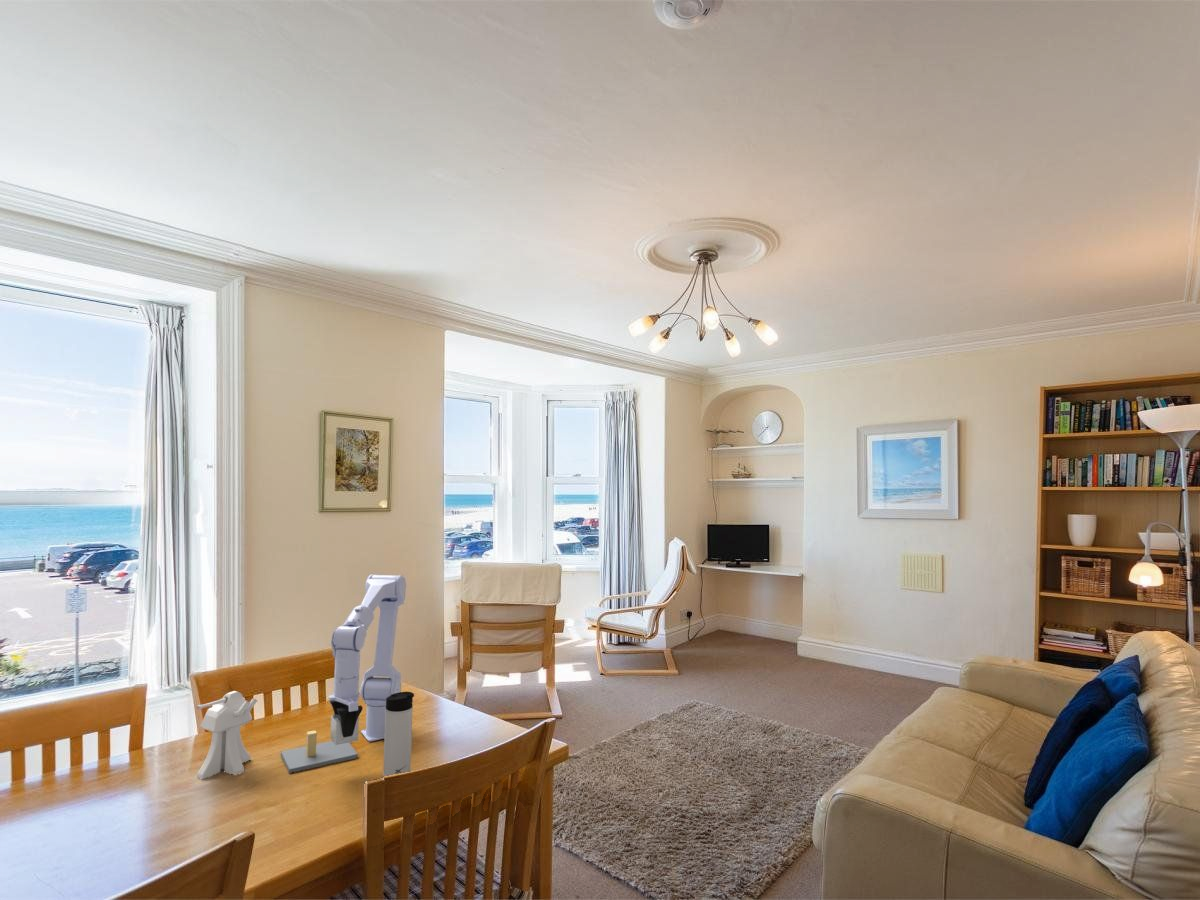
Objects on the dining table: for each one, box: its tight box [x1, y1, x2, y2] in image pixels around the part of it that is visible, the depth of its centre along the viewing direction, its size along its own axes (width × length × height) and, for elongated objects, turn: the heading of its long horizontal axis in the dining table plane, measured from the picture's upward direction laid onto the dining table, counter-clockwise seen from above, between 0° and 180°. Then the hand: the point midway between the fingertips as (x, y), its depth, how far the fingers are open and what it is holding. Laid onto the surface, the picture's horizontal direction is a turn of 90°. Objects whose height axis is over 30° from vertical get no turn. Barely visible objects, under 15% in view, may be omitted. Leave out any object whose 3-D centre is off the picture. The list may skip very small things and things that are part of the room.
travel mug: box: [382, 691, 415, 778], centre depth 154 cm, size 6×7×20 cm
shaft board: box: [280, 730, 359, 774], centre depth 164 cm, size 16×12×6 cm
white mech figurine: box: [196, 690, 258, 780], centre depth 157 cm, size 12×13×18 cm
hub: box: [329, 713, 360, 745], centre depth 157 cm, size 5×5×6 cm
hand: (344, 732), depth 157 cm, fingers closed on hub, 5 cm apart
